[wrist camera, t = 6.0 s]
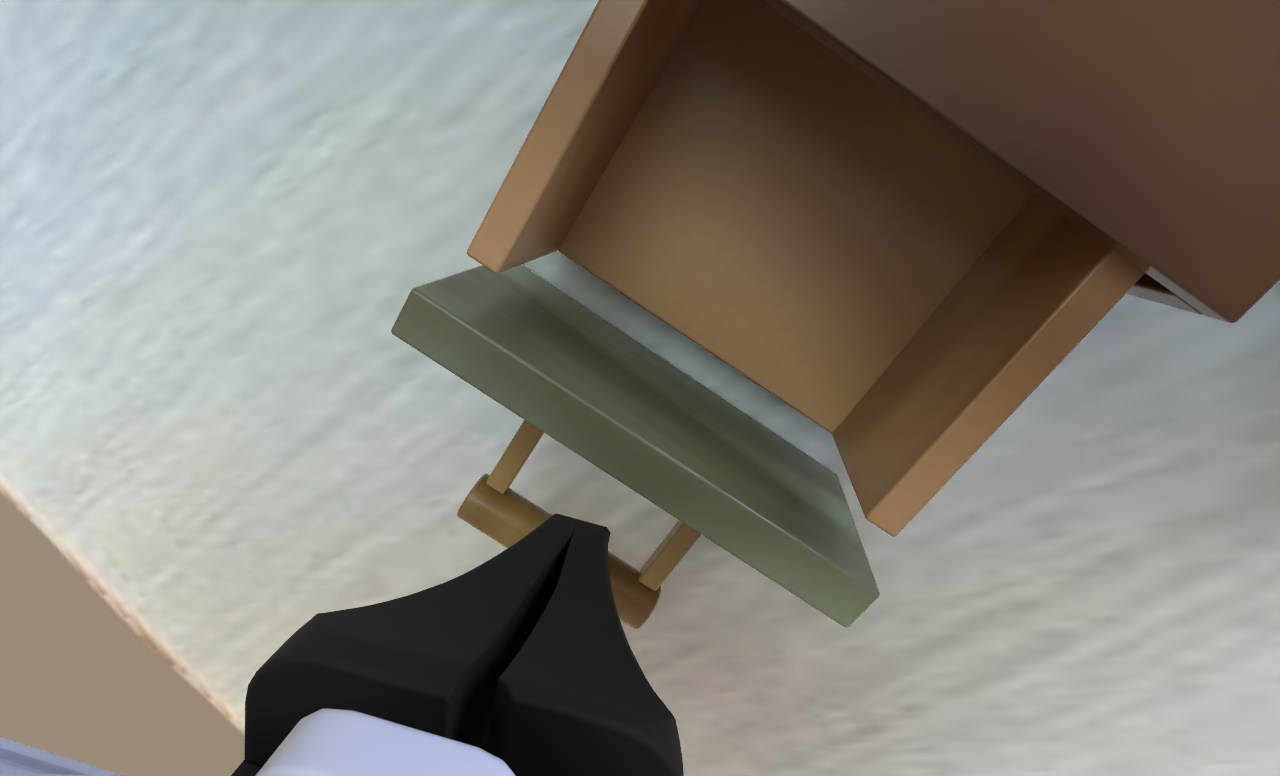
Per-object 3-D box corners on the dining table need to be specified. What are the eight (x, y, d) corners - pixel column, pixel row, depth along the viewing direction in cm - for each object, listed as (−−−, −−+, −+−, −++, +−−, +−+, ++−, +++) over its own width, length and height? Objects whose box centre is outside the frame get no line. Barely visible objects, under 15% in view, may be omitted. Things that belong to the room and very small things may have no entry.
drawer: (725, 605, 22) (722, 757, 16) (422, 410, 21) (305, 496, 15) (1117, 152, 16) (1332, 135, 10) (722, -132, 16) (718, -320, 10)
